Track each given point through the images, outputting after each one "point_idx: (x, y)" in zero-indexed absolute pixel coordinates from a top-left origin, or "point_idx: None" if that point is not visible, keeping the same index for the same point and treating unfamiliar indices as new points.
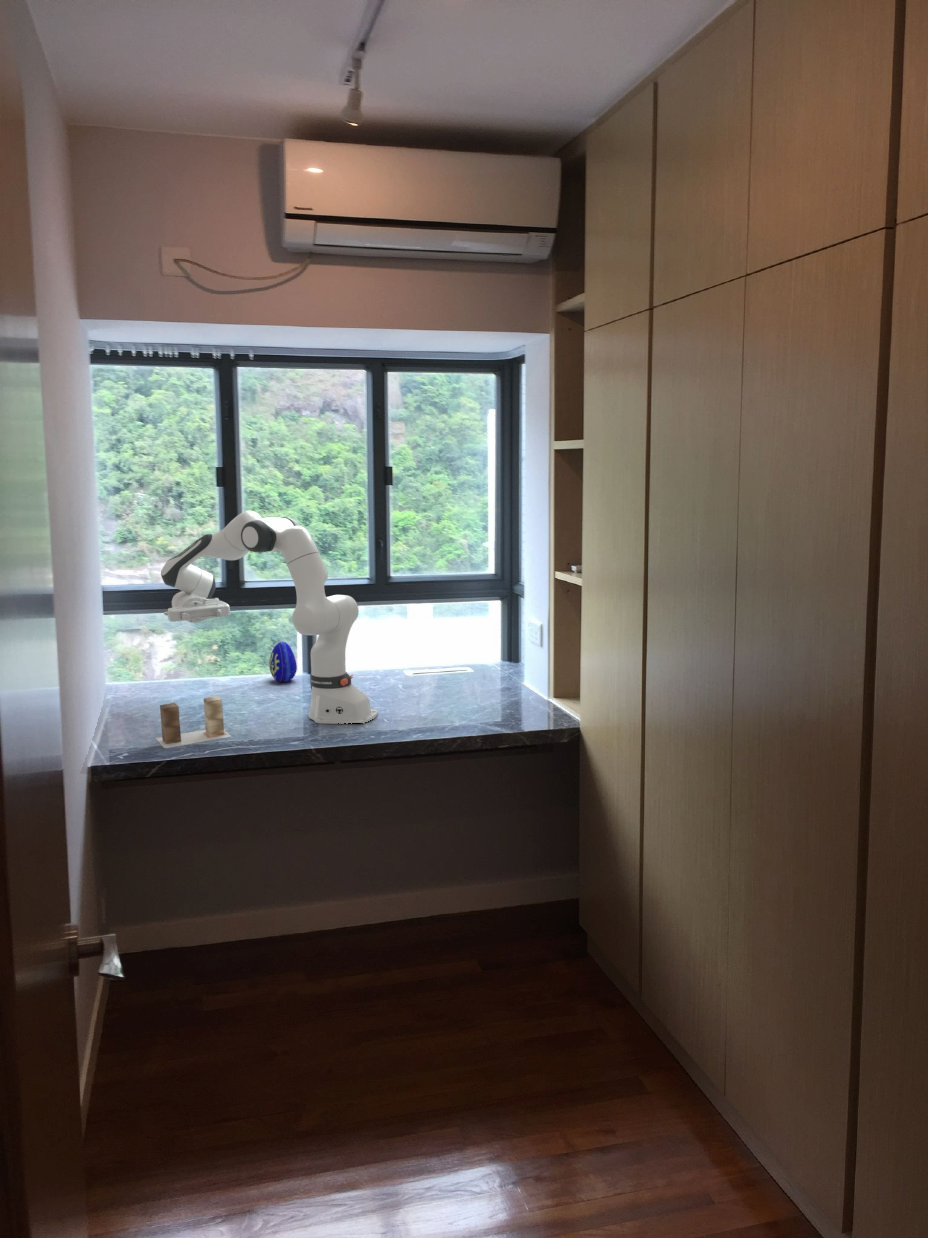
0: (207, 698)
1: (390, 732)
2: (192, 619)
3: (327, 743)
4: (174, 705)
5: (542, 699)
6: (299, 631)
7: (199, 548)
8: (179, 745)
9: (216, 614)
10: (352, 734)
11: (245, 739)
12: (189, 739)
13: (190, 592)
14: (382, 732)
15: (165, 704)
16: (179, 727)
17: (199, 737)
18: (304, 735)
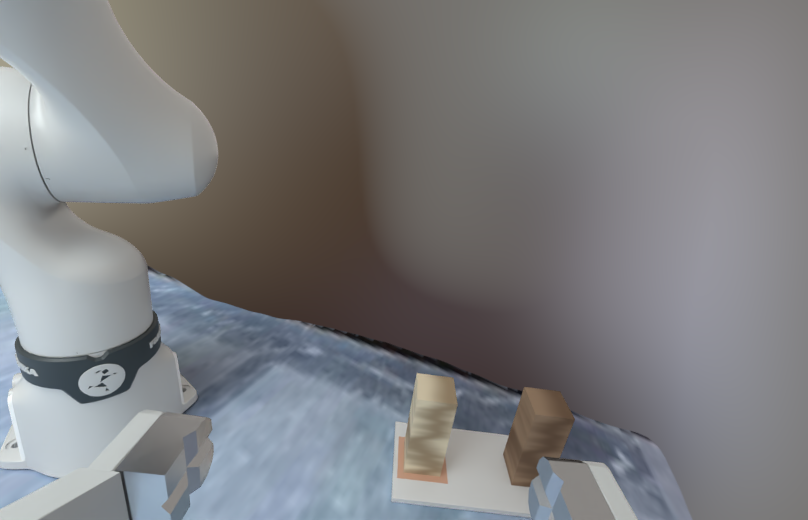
0: (448, 397)
1: (170, 310)
2: (532, 497)
3: (278, 326)
4: (534, 396)
5: None
6: (206, 186)
7: None
8: (507, 435)
9: (187, 473)
10: (215, 331)
11: (373, 405)
12: (483, 456)
13: None
14: (177, 315)
15: (559, 416)
16: (512, 428)
17: (460, 455)
18: (274, 365)
